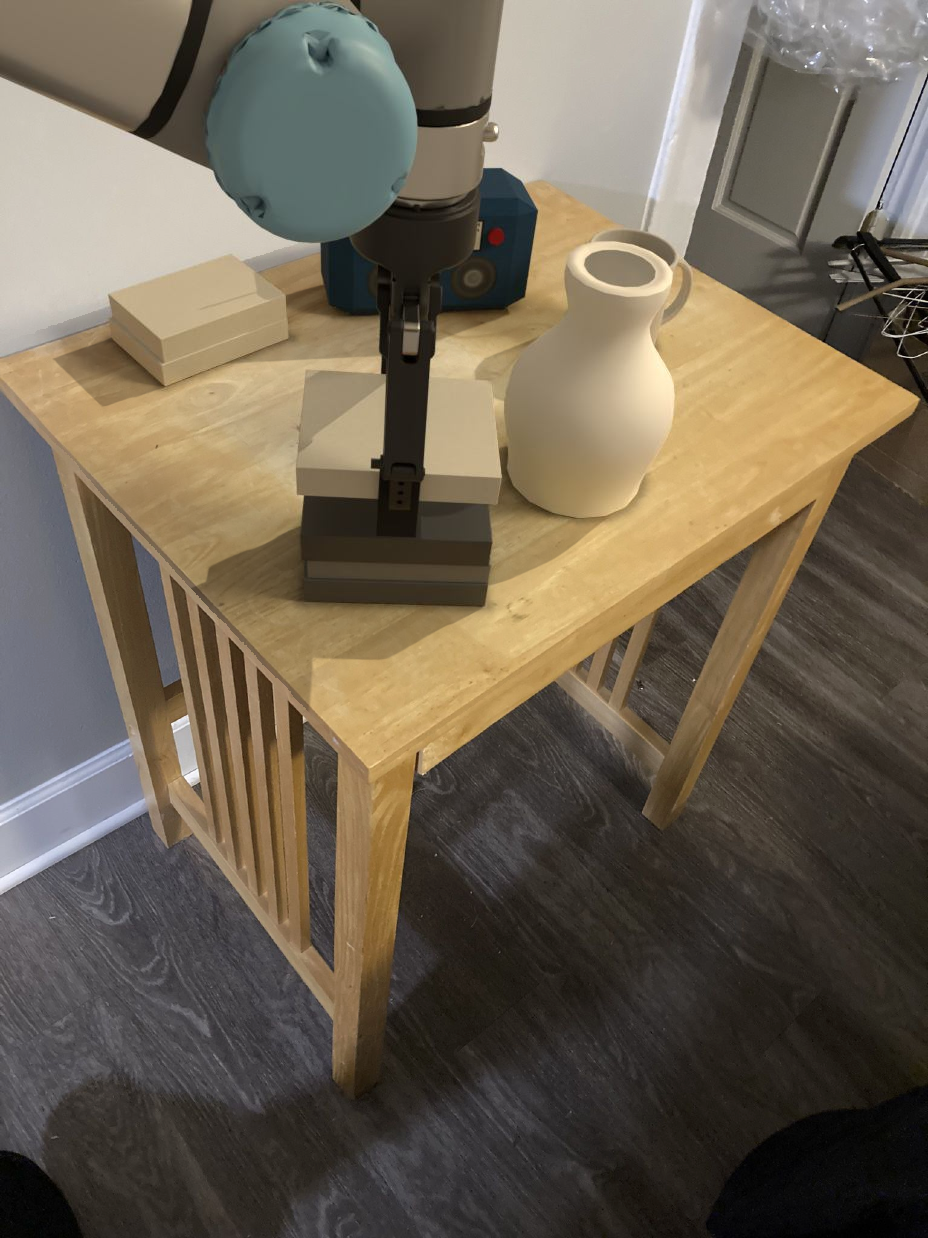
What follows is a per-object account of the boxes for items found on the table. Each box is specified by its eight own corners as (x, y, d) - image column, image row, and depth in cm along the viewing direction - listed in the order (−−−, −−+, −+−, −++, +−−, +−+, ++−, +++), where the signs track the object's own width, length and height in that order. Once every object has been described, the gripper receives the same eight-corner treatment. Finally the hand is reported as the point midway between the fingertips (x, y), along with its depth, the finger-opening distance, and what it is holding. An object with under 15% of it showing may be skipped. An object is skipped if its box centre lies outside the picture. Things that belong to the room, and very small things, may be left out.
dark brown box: (303, 601, 74) (300, 535, 69) (309, 520, 80) (307, 454, 75) (485, 606, 76) (495, 541, 70) (478, 526, 81) (487, 461, 76)
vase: (461, 465, 86) (485, 254, 72) (563, 404, 94) (605, 202, 79) (583, 551, 81) (638, 341, 66) (682, 479, 88) (752, 276, 73)
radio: (331, 324, 99) (328, 120, 84) (320, 279, 105) (315, 80, 90) (526, 315, 104) (557, 120, 89) (506, 273, 109) (531, 82, 94)
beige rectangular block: (164, 386, 90) (157, 341, 86) (111, 338, 94) (102, 293, 91) (288, 338, 97) (286, 294, 93) (234, 295, 101) (230, 252, 98)
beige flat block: (296, 495, 65) (295, 467, 63) (306, 396, 72) (306, 368, 70) (497, 504, 66) (501, 477, 64) (486, 406, 73) (490, 380, 72)
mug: (562, 349, 100) (580, 259, 93) (582, 305, 106) (601, 216, 99) (665, 376, 99) (691, 286, 91) (679, 329, 105) (705, 241, 97)
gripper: (496, 293, 47) (453, 597, 64) (471, 101, 63) (441, 385, 79) (341, 282, 47) (338, 593, 63) (354, 90, 62) (349, 380, 78)
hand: (396, 477), depth 71 cm, fingers closed on beige flat block, 11 cm apart
